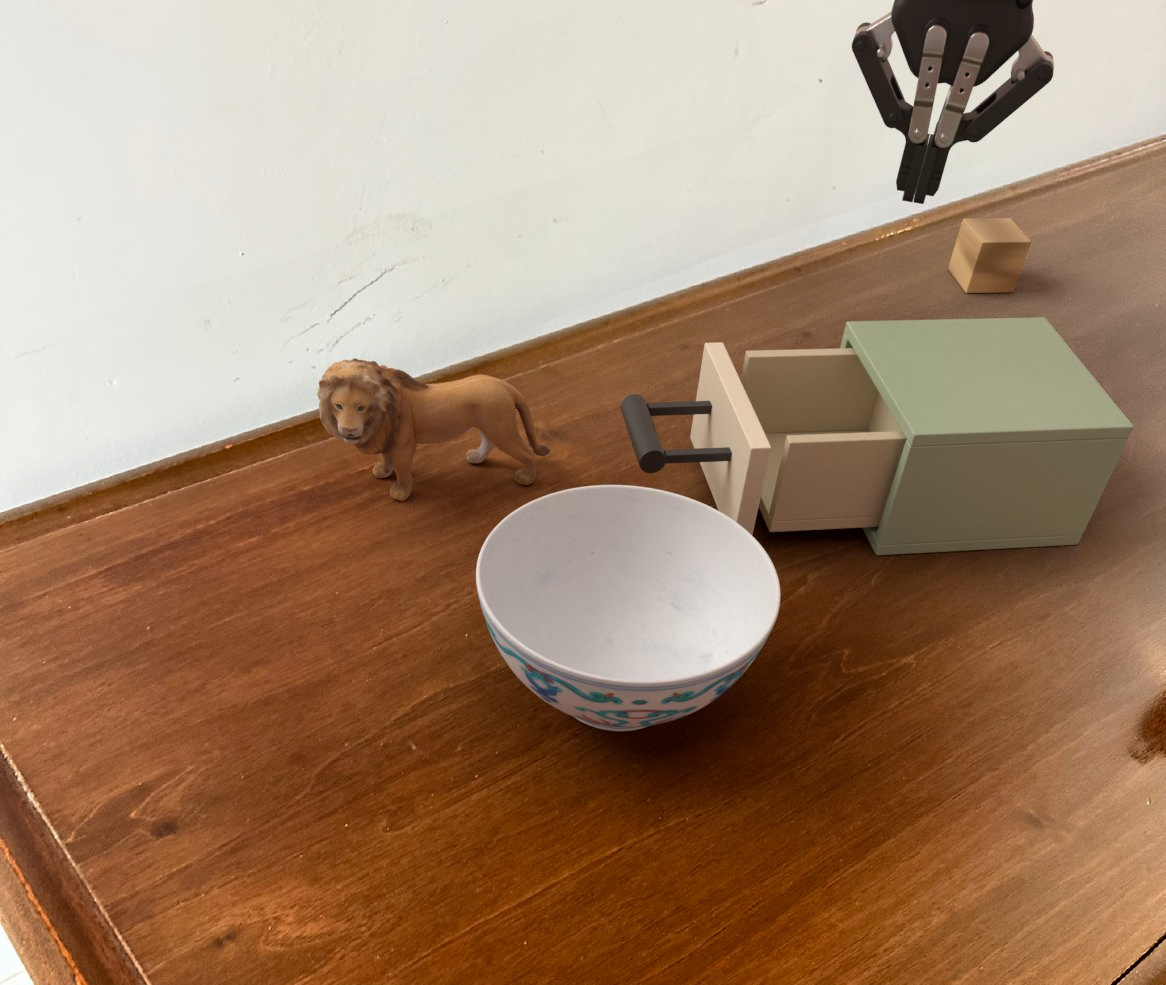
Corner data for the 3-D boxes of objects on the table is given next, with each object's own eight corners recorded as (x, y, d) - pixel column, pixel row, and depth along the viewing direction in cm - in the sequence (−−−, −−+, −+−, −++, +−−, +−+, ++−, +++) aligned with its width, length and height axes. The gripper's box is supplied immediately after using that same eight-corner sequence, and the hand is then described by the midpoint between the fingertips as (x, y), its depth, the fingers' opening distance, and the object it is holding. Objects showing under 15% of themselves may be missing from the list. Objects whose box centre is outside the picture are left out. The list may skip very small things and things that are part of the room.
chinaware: (719, 826, 58) (746, 717, 53) (433, 746, 61) (429, 633, 55) (776, 633, 68) (805, 523, 62) (528, 570, 70) (533, 458, 64)
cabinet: (875, 556, 73) (914, 434, 67) (816, 439, 81) (846, 320, 75) (1078, 545, 76) (1134, 426, 69) (1001, 432, 84) (1045, 316, 77)
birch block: (993, 268, 100) (1010, 217, 97) (1013, 292, 98) (1031, 241, 94) (947, 268, 100) (962, 218, 96) (965, 293, 97) (982, 242, 94)
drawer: (640, 550, 71) (653, 452, 66) (606, 440, 78) (616, 344, 73) (926, 535, 74) (960, 440, 69) (868, 431, 81) (894, 337, 76)
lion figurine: (342, 528, 72) (328, 394, 65) (316, 478, 75) (300, 345, 68) (564, 479, 76) (573, 350, 70) (532, 435, 79) (537, 306, 73)
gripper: (874, -116, 66) (809, 203, 79) (1118, -80, 64) (1011, 239, 77) (887, -146, 71) (824, 160, 84) (1114, -114, 69) (1013, 193, 82)
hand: (914, 197), depth 80 cm, fingers closed
